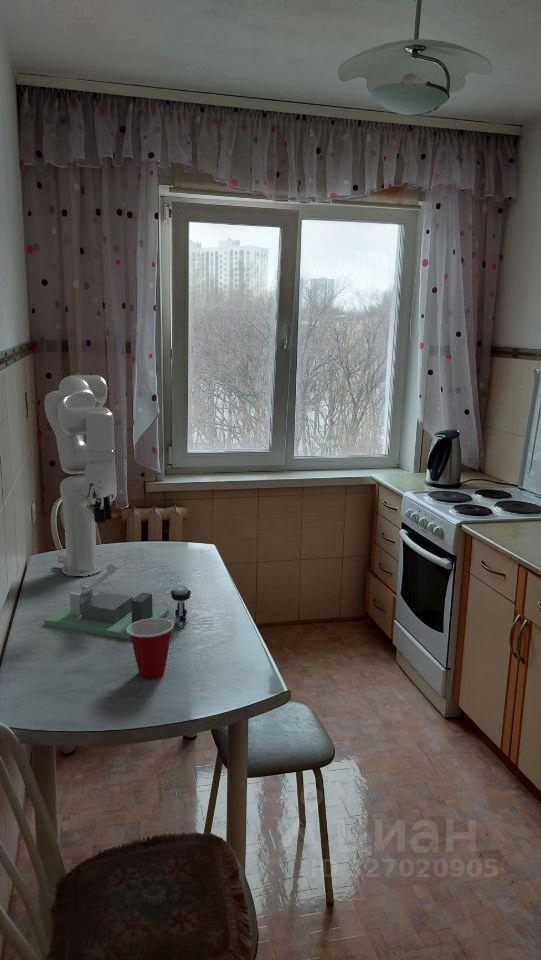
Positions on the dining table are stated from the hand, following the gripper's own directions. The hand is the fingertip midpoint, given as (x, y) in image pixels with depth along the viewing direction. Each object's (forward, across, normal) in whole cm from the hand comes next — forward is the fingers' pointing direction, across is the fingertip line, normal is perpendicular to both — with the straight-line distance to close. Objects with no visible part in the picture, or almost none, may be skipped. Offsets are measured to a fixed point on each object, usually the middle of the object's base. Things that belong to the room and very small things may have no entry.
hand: (103, 520), depth 197 cm
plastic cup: (+25, +32, +31) cm, 51 cm away
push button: (+25, +5, +26) cm, 37 cm away
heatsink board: (+25, +9, +6) cm, 27 cm away
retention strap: (+15, +9, +4) cm, 18 cm away
